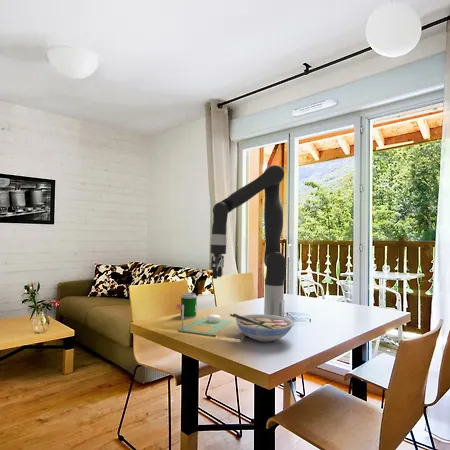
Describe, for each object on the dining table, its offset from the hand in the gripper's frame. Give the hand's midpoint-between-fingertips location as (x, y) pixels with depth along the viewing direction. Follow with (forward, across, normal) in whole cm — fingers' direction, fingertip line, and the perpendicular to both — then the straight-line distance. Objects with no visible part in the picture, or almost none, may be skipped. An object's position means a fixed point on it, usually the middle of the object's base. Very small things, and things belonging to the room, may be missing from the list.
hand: (217, 277), depth 168 cm
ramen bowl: (+20, -24, -27) cm, 41 cm away
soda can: (+21, -2, +13) cm, 24 cm away
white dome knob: (+19, -8, -1) cm, 20 cm away
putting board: (+20, -14, -1) cm, 25 cm away
